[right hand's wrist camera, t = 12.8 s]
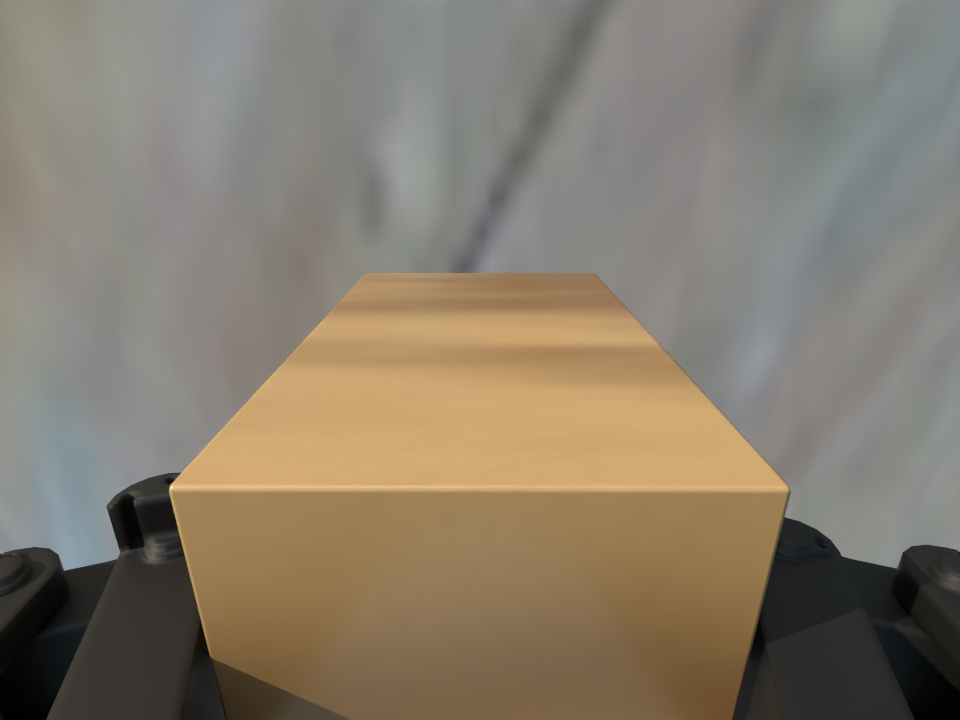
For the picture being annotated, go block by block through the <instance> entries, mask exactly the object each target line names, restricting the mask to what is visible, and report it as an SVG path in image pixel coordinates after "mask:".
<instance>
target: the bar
mask: <svg viewBox="0 0 960 720" xmlns="http://www.w3.org/2000/svg"><path fill="white" fill-rule="evenodd" d="M169 494H170V498H171V502H172V506H173V510H174V514H175V518H176V522H177V526H178V530H179V534H180V538H181V542H182V546H183V550H184V554H185V558H186V562H187V566H188V570H189V574H190V578H191V582H192V586H193V590H194V594H195V598H196V602H197V606H198V610H199V614H200V618H201V622H202V626H203V630H204V634H205V638H206V642H207V646H208V650H209V654H210V658H211V662H212V667H213V671H214V675H215V679H216V683H217V687H218V691H219V695H220V699H221V703H222V707H223V711H224V715H225V719H226V720H734V717H735V713H736V709H737V705H738V701H739V697H740V693H741V689H742V685H743V681H744V677H745V673H746V669H747V665H748V661H749V657H750V653H751V649H752V645H753V641H754V637H755V633H756V629H757V625H758V621H759V617H760V613H761V609H762V605H763V601H764V597H765V593H766V589H767V585H768V581H769V577H770V572H771V568H772V564H773V560H774V556H775V552H776V548H777V544H778V540H779V536H780V532H781V528H782V524H783V520H784V516H785V512H786V508H787V504H788V500H789V496H790V487H789V485H788V484H787V483H786V482H785V481H784V480H783V479H782V478H781V476H780V475H779V474H778V473H777V472H776V471H775V470H774V469H773V468H772V467H771V466H770V464H769V463H768V462H767V461H766V460H765V459H764V458H763V457H762V456H761V455H760V453H759V452H758V451H757V450H756V449H755V448H754V447H753V446H752V445H751V444H750V443H749V441H748V440H747V439H746V438H745V437H744V436H743V435H742V434H741V433H740V432H739V430H738V429H737V428H736V427H735V426H734V425H733V424H732V423H731V422H730V421H729V420H728V418H727V417H726V416H725V415H724V414H723V413H722V412H721V411H720V410H719V409H718V408H717V406H716V405H715V404H714V403H713V402H712V401H711V400H710V399H709V398H708V397H707V395H706V394H705V393H704V392H703V391H702V390H701V389H700V388H699V387H698V386H697V385H696V383H695V382H694V381H693V380H692V379H691V378H690V377H689V376H688V375H687V374H686V372H685V371H684V370H683V369H682V368H681V367H680V366H679V365H678V364H677V363H676V362H675V360H674V359H673V358H672V357H671V356H670V355H669V354H668V353H667V352H666V351H665V350H664V348H663V347H662V346H661V345H660V344H659V343H658V342H657V341H656V340H655V339H654V337H653V336H652V335H651V334H650V333H649V332H648V331H647V330H646V329H645V328H644V327H643V325H642V324H641V323H640V322H639V321H638V320H637V319H636V318H635V317H634V316H633V315H632V313H631V312H630V311H629V310H628V309H627V308H626V307H625V306H624V305H623V304H622V302H621V301H620V300H619V299H618V298H617V297H616V296H615V295H614V294H613V293H612V292H611V290H610V289H609V288H608V287H607V286H606V285H605V284H604V283H603V282H602V281H601V279H600V278H599V277H598V276H597V275H596V274H594V273H366V274H365V275H364V276H363V277H362V278H361V279H360V280H359V281H358V282H357V284H356V285H355V286H354V287H353V288H352V289H351V290H350V291H349V292H348V293H347V294H346V295H345V297H344V298H343V299H342V300H341V301H340V302H339V303H338V304H337V305H336V306H335V307H334V308H333V310H332V311H331V312H330V313H329V314H328V315H327V316H326V317H325V318H324V319H323V320H322V321H321V323H320V324H319V325H318V326H317V327H316V328H315V329H314V330H313V331H312V332H311V333H310V334H309V336H308V337H307V338H306V339H305V340H304V341H303V342H302V343H301V344H300V345H299V346H298V347H297V349H296V350H295V351H294V352H293V353H292V354H291V355H290V356H289V357H288V358H287V359H286V360H285V361H284V363H283V364H282V365H281V366H280V367H279V368H278V369H277V370H276V371H275V372H274V373H273V374H272V376H271V377H270V378H269V379H268V380H267V381H266V382H265V383H264V384H263V385H262V386H261V387H260V389H259V390H258V391H257V392H256V393H255V394H254V395H253V396H252V397H251V398H250V399H249V400H248V402H247V403H246V404H245V405H244V406H243V407H242V408H241V409H240V410H239V411H238V412H237V413H236V415H235V416H234V417H233V418H232V419H231V420H230V421H229V422H228V423H227V424H226V425H225V426H224V428H223V429H222V430H221V431H220V432H219V433H218V434H217V435H216V436H215V437H214V438H213V439H212V441H211V442H210V443H209V444H208V445H207V446H206V447H205V448H204V449H203V450H202V451H201V452H200V454H199V455H198V456H197V457H196V458H195V459H194V460H193V461H192V462H191V463H190V464H189V465H188V466H187V468H186V469H185V470H184V471H183V472H182V473H181V474H180V475H179V476H178V477H177V478H176V479H175V481H174V482H173V483H172V484H171V485H170V488H169Z"/></svg>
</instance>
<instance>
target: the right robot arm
mask: <svg viewBox="0 0 960 720" xmlns="http://www.w3.org/2000/svg"><path fill="white" fill-rule="evenodd" d="M180 474H181V473H168V474H164V475H159V476H155V477H151V478H148V479H145V480H143V481H140V482H138V483H136V484H133V485H131V486H129V487H128V488H126V489H125V490H123V491H122V492H120V493H118V494H117V495H116V496H115V497H114V498H113V499H112V500H111V501H110V502H109V504H108V505H107V509H108V513H109V516H110V519H111V523H112V526H113V529H114V533H115V536H116V539H117V543H118V546H119V549H120V555H119V557H118V559H116V560H113V561H109V562H104V563H100V564H95V565H90V566H85V567H81V568H76V569H71V570H66V571H64V569H63V567H62V564H61V561H60V558H59V555H58V554H56V553H55V552H54V551H52V550H51V549H48V548H38V547H32V548H25V549H19V550H13V551H9V552H5V553H4V554H0V720H226V719H225V715H224V711H223V707H222V703H221V699H220V695H219V691H218V687H217V683H216V679H215V675H214V671H213V667H212V662H211V658H210V654H209V650H208V646H207V642H206V638H205V634H204V630H203V626H202V622H201V618H200V614H199V610H198V606H197V602H196V598H195V594H194V590H193V586H192V582H191V578H190V574H189V570H188V566H187V562H186V558H185V554H184V550H183V546H182V542H181V538H180V534H179V530H178V526H177V522H176V518H175V514H174V510H173V506H172V502H171V498H170V494H169V488H170V485H171V484H172V483H173V482H174V481H175V479H176V478H177V477H178V476H179V475H180ZM734 720H960V552H958V550H954V549H950V548H945V547H938V546H931V545H921V546H912V547H910V548H909V549H907V550H906V551H904V552H903V554H902V557H901V560H900V563H899V565H898V568H897V569H896V568H891V567H886V566H881V565H877V564H872V563H867V562H862V561H858V560H853V559H849V558H845V557H842V556H841V554H840V552H839V551H838V549H837V548H836V546H835V545H834V544H833V542H832V541H831V540H830V539H829V538H827V537H826V536H824V535H823V534H822V533H820V532H819V531H818V530H816V529H814V528H812V527H810V526H808V525H806V524H804V523H802V522H799V521H796V520H792V519H788V518H785V517H784V520H783V524H782V528H781V532H780V536H779V540H778V544H777V548H776V552H775V556H774V560H773V564H772V568H771V572H770V577H769V581H768V585H767V589H766V593H765V597H764V601H763V605H762V609H761V613H760V617H759V621H758V625H757V629H756V633H755V637H754V641H753V645H752V649H751V653H750V657H749V661H748V665H747V669H746V673H745V677H744V681H743V685H742V689H741V693H740V697H739V701H738V705H737V709H736V713H735V717H734Z"/></svg>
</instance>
